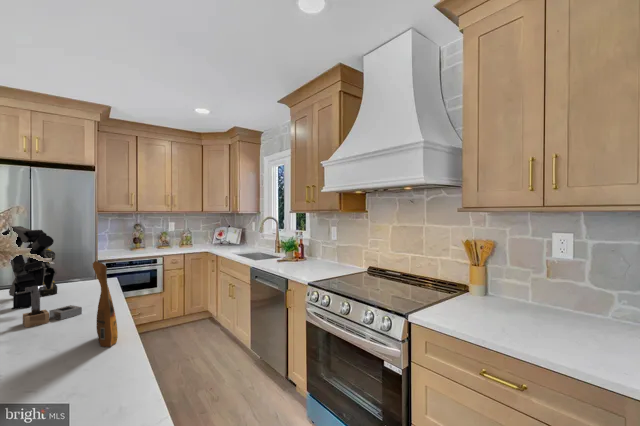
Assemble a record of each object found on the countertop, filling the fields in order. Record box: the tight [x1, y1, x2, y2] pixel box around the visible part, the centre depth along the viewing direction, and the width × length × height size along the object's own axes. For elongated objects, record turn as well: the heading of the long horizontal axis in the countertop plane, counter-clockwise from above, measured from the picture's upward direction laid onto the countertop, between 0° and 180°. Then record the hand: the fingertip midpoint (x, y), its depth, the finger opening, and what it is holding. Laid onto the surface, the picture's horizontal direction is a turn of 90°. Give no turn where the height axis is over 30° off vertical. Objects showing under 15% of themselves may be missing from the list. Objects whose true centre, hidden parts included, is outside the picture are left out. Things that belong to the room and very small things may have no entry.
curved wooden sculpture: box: [92, 260, 119, 348], centre depth 107 cm, size 7×19×28 cm, turn 39°
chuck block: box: [48, 304, 83, 321], centre depth 132 cm, size 8×8×3 cm
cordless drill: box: [38, 248, 58, 297], centre depth 165 cm, size 8×21×25 cm, turn 53°
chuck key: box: [25, 285, 46, 316], centre depth 123 cm, size 6×3×15 cm, turn 140°
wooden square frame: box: [22, 309, 50, 328], centre depth 123 cm, size 7×7×4 cm
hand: (45, 287), depth 134 cm, fingers open, 9 cm apart
